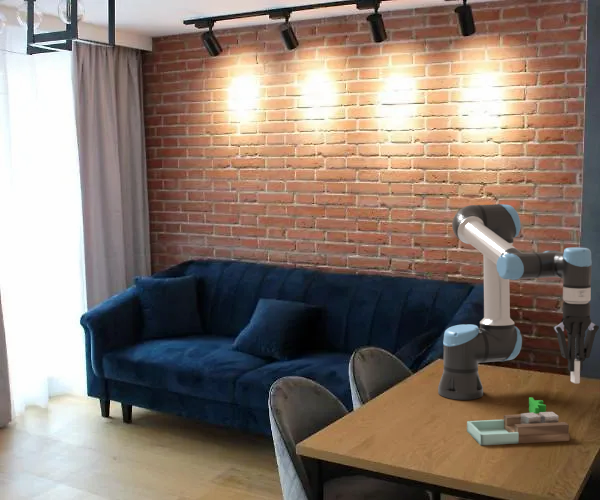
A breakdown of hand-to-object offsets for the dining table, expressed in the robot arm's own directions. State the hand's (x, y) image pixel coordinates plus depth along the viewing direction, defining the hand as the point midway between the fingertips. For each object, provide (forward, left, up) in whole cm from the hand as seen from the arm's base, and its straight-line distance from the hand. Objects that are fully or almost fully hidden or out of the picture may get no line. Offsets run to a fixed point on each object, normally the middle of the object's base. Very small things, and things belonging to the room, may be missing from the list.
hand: (575, 382), depth 226 cm
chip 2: (0, -8, -13) cm, 15 cm away
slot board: (0, -12, -15) cm, 19 cm away
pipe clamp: (-16, -4, -16) cm, 23 cm away
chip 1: (0, -13, -13) cm, 19 cm away
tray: (0, -25, -15) cm, 29 cm away
